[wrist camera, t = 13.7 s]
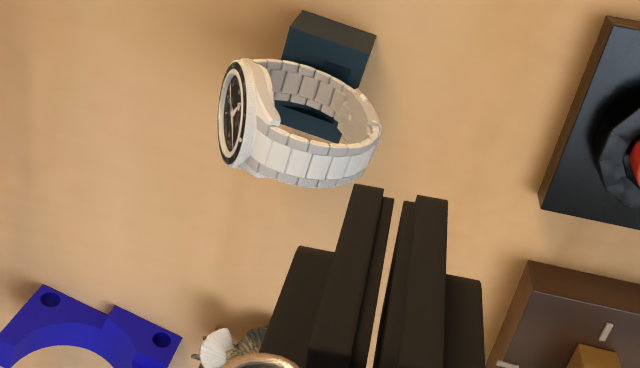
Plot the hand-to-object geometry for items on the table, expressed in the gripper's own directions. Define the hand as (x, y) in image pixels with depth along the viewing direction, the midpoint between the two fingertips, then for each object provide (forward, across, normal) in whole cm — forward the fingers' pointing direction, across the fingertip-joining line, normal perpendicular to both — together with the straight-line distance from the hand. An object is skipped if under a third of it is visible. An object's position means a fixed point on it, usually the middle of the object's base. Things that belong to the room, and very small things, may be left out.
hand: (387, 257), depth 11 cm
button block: (+24, -13, +7) cm, 28 cm away
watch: (+24, +5, +6) cm, 26 cm away
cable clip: (+24, +21, +31) cm, 45 cm away
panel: (+24, -14, +24) cm, 37 cm away
